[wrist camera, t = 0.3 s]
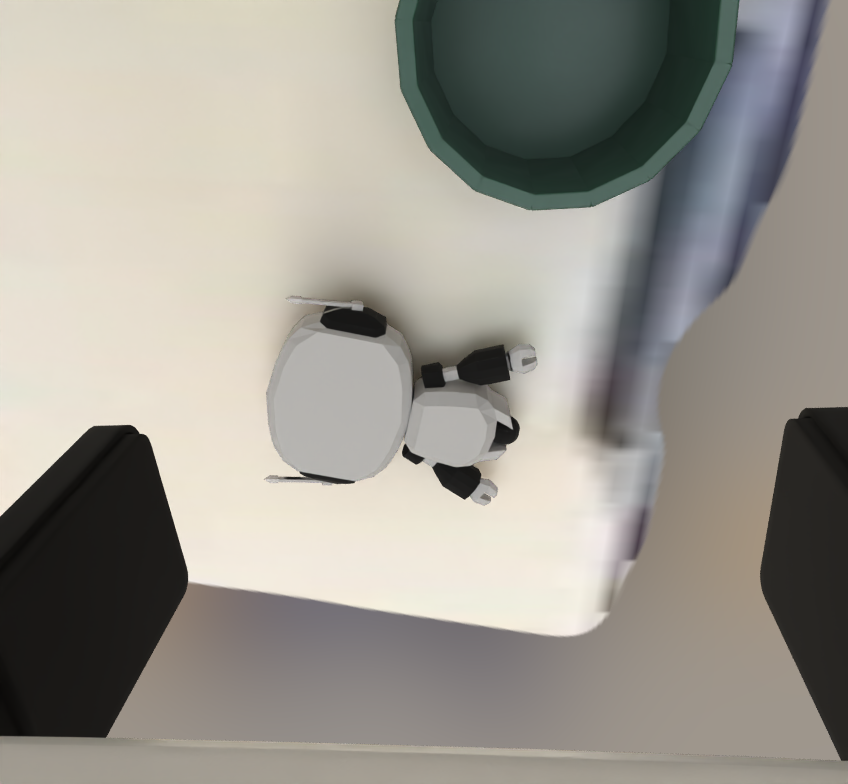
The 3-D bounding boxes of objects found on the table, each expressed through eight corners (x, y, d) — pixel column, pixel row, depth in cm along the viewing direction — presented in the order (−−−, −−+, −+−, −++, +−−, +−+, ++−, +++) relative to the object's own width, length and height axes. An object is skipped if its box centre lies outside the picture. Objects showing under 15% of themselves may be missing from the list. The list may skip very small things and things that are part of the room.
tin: (408, -104, 33) (380, -145, 25) (693, -135, 31) (760, -189, 23) (428, 177, 38) (411, 217, 30) (670, 162, 37) (718, 200, 29)
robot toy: (541, 321, 42) (290, 270, 41) (552, 353, 38) (274, 298, 37) (491, 486, 48) (269, 446, 47) (496, 529, 44) (253, 487, 43)
